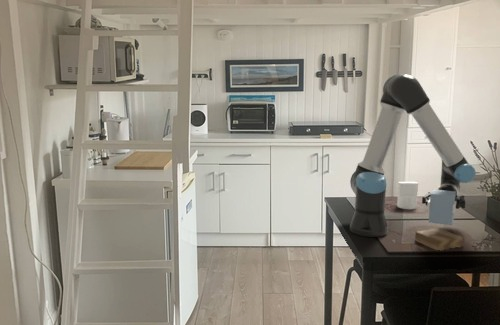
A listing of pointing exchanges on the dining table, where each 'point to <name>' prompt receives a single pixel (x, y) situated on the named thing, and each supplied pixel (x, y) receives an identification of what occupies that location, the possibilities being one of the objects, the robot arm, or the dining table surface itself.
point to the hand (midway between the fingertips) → (441, 207)
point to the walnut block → (439, 239)
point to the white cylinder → (407, 195)
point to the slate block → (441, 207)
